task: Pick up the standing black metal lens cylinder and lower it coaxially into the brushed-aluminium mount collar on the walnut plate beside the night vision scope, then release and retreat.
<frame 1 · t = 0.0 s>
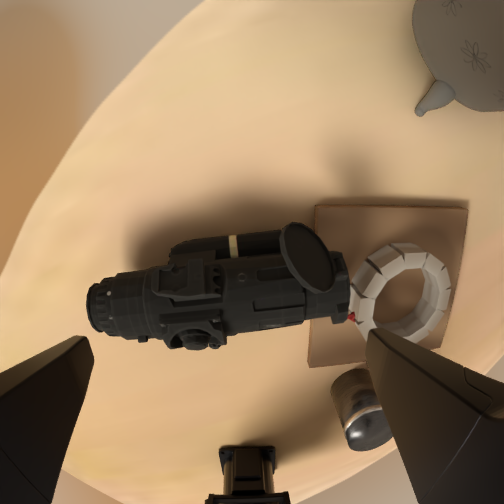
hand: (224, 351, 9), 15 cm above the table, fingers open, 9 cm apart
lens: (352, 385, 28), on the table
grey footed pail: (455, 47, 18), on the table
mount plate: (389, 286, 25), on the table
night vision scope: (222, 273, 24), on the table
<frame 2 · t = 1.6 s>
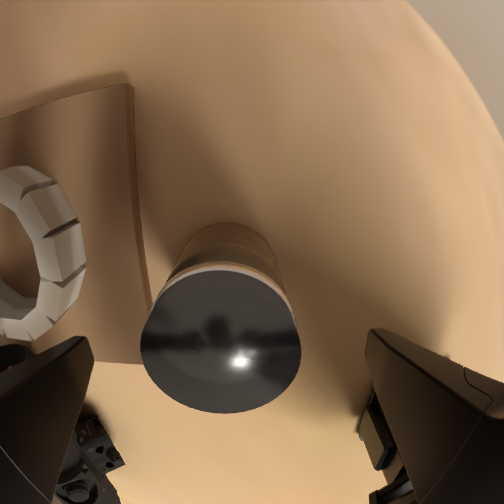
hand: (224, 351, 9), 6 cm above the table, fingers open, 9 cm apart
lens: (227, 269, 15), on the table
mount plate: (31, 241, 14), on the table
night vision scope: (73, 415, 19), on the table
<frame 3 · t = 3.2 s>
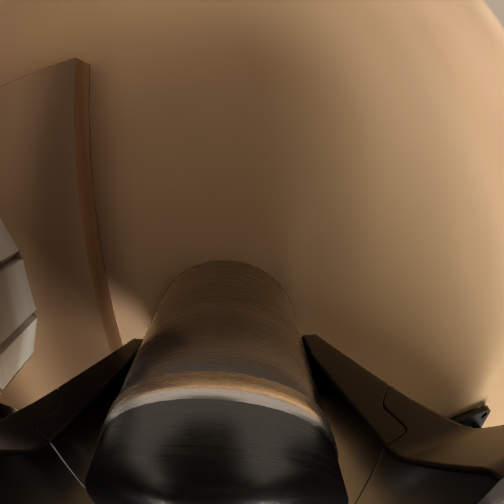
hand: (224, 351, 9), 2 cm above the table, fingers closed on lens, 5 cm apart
lens: (225, 324, 10), on the table, touching gripper
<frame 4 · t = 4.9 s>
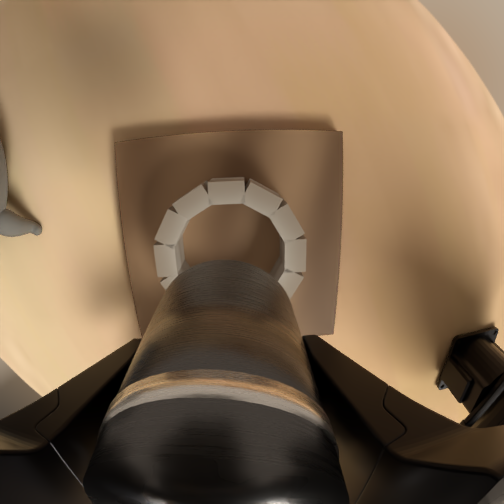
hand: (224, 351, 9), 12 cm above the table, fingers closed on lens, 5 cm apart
lens: (225, 323, 10), point 11 cm above the table, touching gripper
mount plate: (231, 241, 20), on the table
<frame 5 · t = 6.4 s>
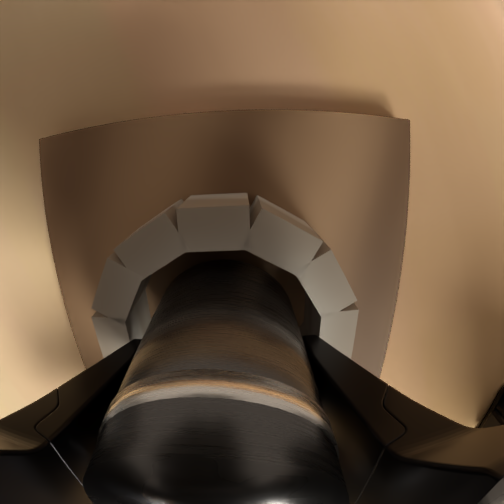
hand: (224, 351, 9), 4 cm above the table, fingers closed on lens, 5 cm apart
lens: (225, 323, 10), point 2 cm above the table, touching gripper
mount plate: (226, 295, 13), on the table
when the fingers open (4 cm above the table, at t = 7.1 s): lens drops 1 cm, resting on mount plate.
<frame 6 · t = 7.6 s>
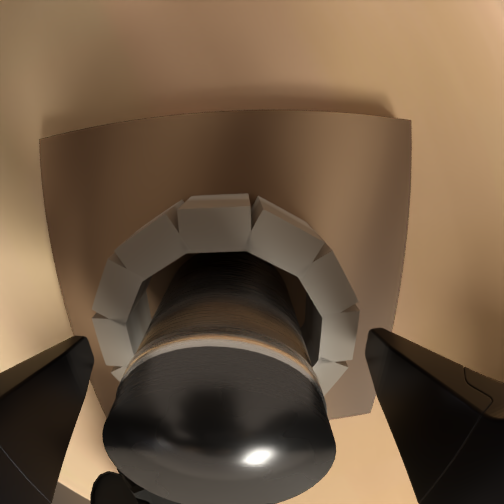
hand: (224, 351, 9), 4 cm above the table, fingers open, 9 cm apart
lens: (227, 306, 12), point 1 cm above the table, touching mount plate
mount plate: (227, 295, 13), on the table
night vision scope: (200, 472, 17), on the table
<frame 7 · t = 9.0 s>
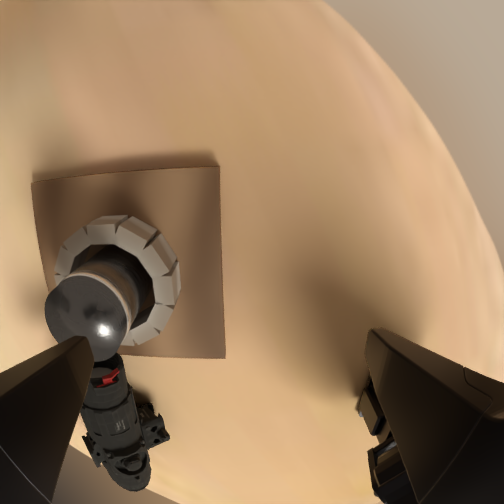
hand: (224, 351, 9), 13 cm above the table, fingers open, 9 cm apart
lens: (122, 274, 20), point 1 cm above the table, touching mount plate
mount plate: (126, 269, 21), on the table
night vision scope: (125, 401, 26), on the table
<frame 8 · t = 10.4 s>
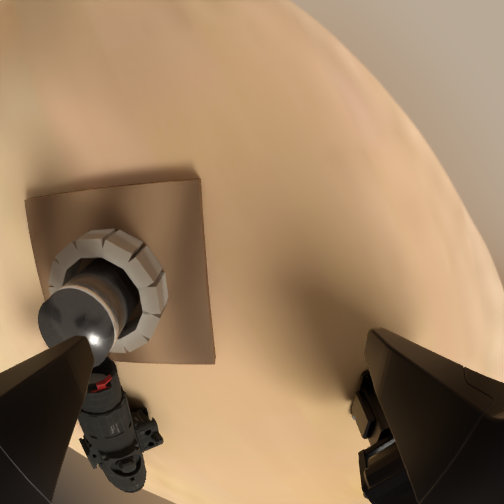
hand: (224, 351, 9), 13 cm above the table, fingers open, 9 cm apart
lens: (113, 284, 21), point 1 cm above the table, touching mount plate
mount plate: (117, 280, 22), on the table
night vision scope: (121, 405, 27), on the table
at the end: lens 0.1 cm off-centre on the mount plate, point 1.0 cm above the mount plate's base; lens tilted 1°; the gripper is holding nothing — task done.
